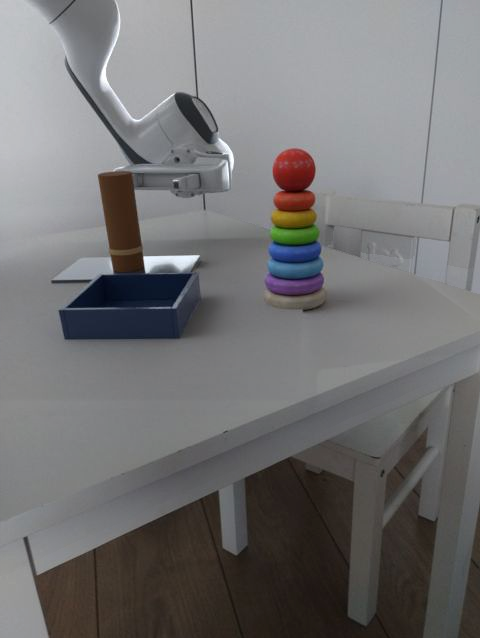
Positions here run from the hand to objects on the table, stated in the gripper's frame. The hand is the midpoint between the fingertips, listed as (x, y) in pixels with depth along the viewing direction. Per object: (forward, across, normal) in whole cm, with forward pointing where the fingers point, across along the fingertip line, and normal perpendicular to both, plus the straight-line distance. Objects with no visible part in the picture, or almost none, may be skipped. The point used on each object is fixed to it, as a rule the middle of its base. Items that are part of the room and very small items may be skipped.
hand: (150, 184), depth 91 cm
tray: (+27, +11, +12) cm, 32 cm away
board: (+9, 0, +12) cm, 15 cm away
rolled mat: (+10, 0, +11) cm, 15 cm away
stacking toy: (+17, +28, +12) cm, 35 cm away
